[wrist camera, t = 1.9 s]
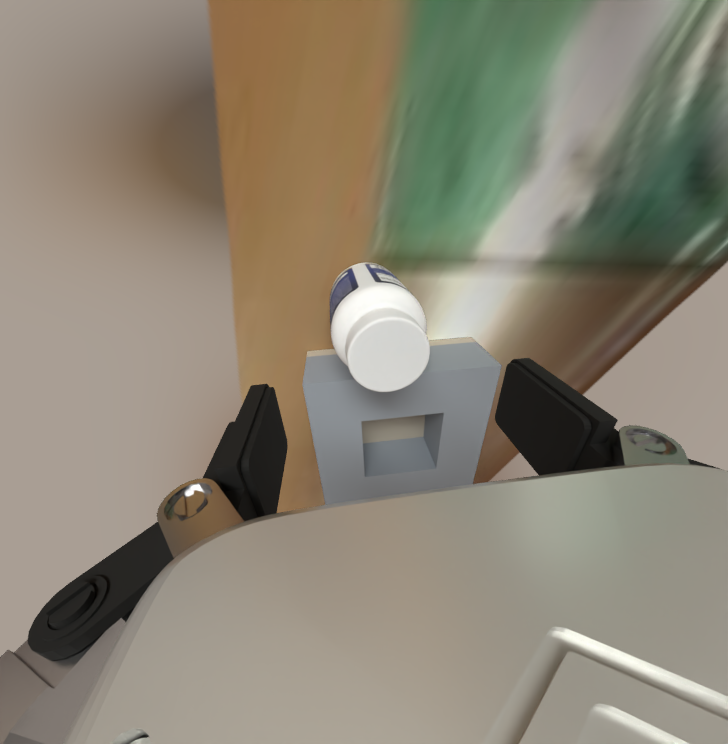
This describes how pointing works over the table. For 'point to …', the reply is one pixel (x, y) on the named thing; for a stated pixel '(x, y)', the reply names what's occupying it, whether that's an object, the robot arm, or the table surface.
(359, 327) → the pill bottle
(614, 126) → the table surface
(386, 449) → the socket block
